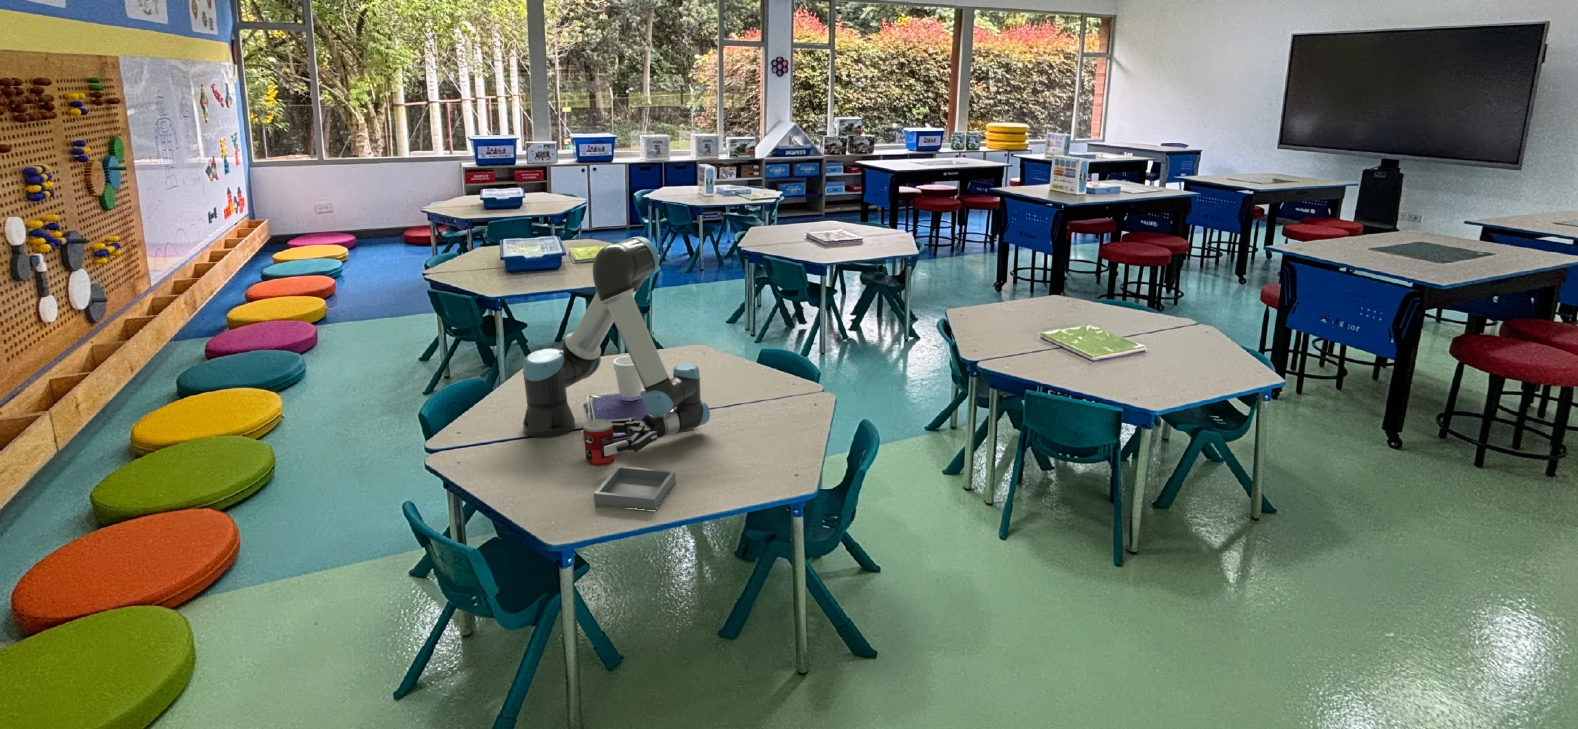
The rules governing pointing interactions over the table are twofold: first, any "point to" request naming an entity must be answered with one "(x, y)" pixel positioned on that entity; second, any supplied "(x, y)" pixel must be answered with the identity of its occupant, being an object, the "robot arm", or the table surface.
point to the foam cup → (627, 377)
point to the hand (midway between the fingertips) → (593, 443)
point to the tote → (635, 488)
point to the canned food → (598, 441)
